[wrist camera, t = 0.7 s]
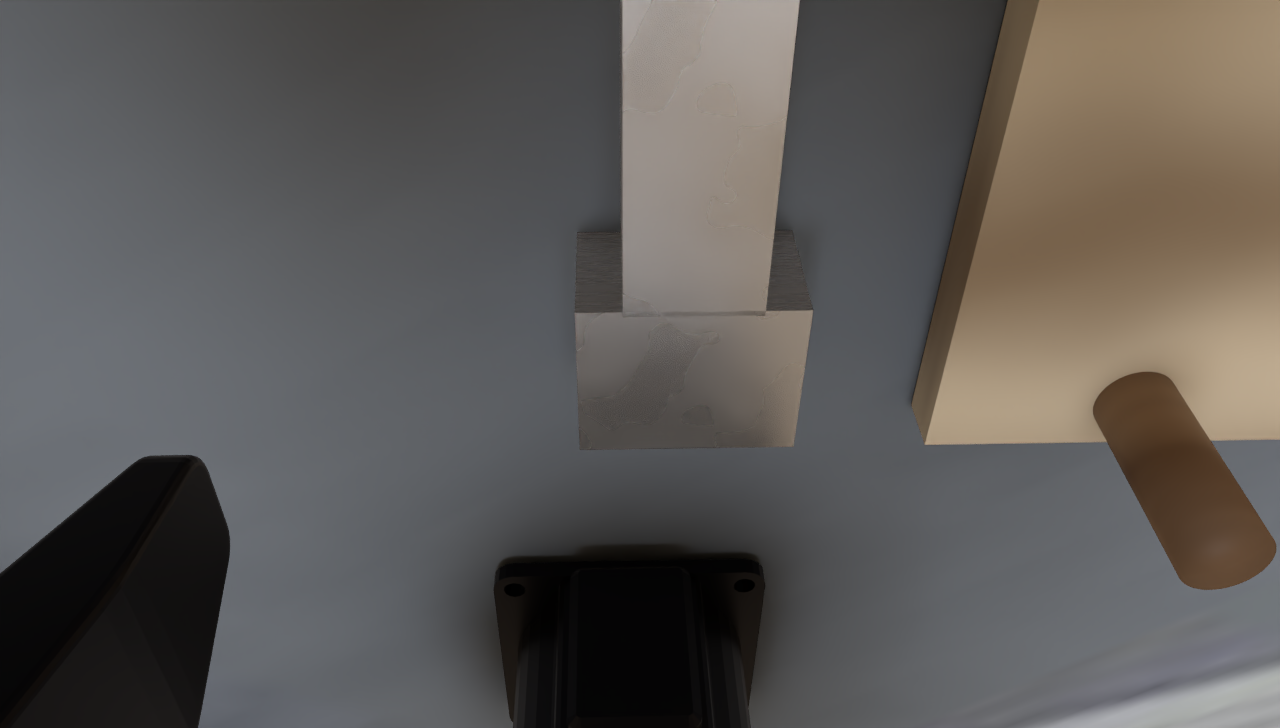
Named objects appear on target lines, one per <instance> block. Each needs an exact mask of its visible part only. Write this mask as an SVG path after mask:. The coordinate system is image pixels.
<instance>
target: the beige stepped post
mask: <svg viewBox="0 0 1280 728" xmlns="http://www.w3.org/2000/svg"><path fill="white" fill-rule="evenodd" d="M799 2H800V0H620V232H577V249H576V285H575V334H576V361H577V387H578V414H579V440H580V450H601V449H671V448H740V447H793V446H794V439H795V432H796V426H797V419H798V412H799V405H800V398H801V391H802V384H803V377H804V371H805V364H806V357H807V350H808V343H809V336H810V329H811V322H812V316H813V308H812V304H811V300H810V296H809V292H808V288H807V284H806V281H805V277H804V273H803V269H802V265H801V261H800V258H799V254H798V250H797V246H796V242H795V238H794V234H793V231H792V230H781V231H775V222H776V213H777V204H778V195H779V185H780V176H781V167H782V158H783V149H784V140H785V130H786V121H787V112H788V103H789V94H790V85H791V75H792V66H793V57H794V48H795V39H796V30H797V21H798V11H799Z"/></svg>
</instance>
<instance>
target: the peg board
mask: <svg viewBox="0 0 1280 728" xmlns="http://www.w3.org/2000/svg"><path fill="white" fill-rule="evenodd" d="M911 406H912V409H913V412H914V415H915V417H916V420H917V423H918V426H919V429H920V432H921V435H922V438H923V441H924V444H925V445H940V444H1007V443H1074V442H1107V443H1108V445H1109V447H1110V448H1111V450H1112V452H1113V454H1114V456H1115V458H1116V460H1117V462H1118V463H1119V465H1120V467H1121V469H1122V471H1123V473H1124V475H1125V477H1126V479H1127V480H1128V482H1129V484H1130V486H1131V488H1132V490H1133V492H1134V494H1135V495H1136V497H1137V499H1138V501H1139V503H1140V505H1141V507H1142V509H1143V510H1144V512H1145V514H1146V516H1147V518H1148V520H1149V522H1150V524H1151V526H1152V527H1153V529H1154V531H1155V533H1156V535H1157V537H1158V539H1159V541H1160V542H1161V544H1162V546H1163V548H1164V550H1165V552H1166V554H1167V556H1168V557H1169V559H1170V561H1171V563H1172V565H1173V567H1174V569H1175V571H1176V573H1177V574H1178V576H1179V578H1180V580H1181V581H1182V582H1183V583H1184V584H1186V585H1188V586H1190V587H1193V588H1196V589H1203V590H1213V589H1222V588H1227V587H1230V586H1234V585H1237V584H1240V583H1242V582H1244V581H1247V580H1249V579H1251V578H1252V577H1254V576H1256V575H1257V574H1259V573H1260V572H1261V571H1263V570H1264V569H1265V568H1266V567H1267V566H1268V565H1269V564H1270V562H1271V561H1272V560H1273V558H1274V556H1275V553H1276V543H1275V540H1274V539H1273V537H1272V536H1271V534H1270V533H1269V531H1268V530H1267V528H1266V526H1265V525H1264V523H1263V522H1262V520H1261V519H1260V517H1259V516H1258V514H1257V512H1256V511H1255V509H1254V508H1253V506H1252V505H1251V503H1250V501H1249V500H1248V498H1247V497H1246V495H1245V494H1244V492H1243V491H1242V489H1241V487H1240V486H1239V484H1238V483H1237V481H1236V480H1235V478H1234V476H1233V475H1232V473H1231V472H1230V470H1229V469H1228V467H1227V466H1226V464H1225V462H1224V461H1223V459H1222V458H1221V456H1220V455H1219V453H1218V452H1217V450H1216V448H1215V447H1214V445H1213V444H1212V442H1211V441H1210V440H1274V439H1280V0H1008V2H1007V6H1006V10H1005V14H1004V18H1003V23H1002V27H1001V31H1000V35H999V39H998V44H997V48H996V52H995V56H994V60H993V65H992V69H991V73H990V77H989V81H988V86H987V90H986V94H985V98H984V102H983V107H982V111H981V115H980V119H979V123H978V128H977V132H976V136H975V140H974V144H973V149H972V153H971V157H970V161H969V165H968V170H967V174H966V178H965V182H964V186H963V191H962V195H961V199H960V203H959V207H958V211H957V216H956V220H955V224H954V228H953V232H952V237H951V241H950V245H949V249H948V253H947V258H946V262H945V266H944V270H943V274H942V279H941V283H940V287H939V291H938V295H937V300H936V304H935V308H934V312H933V316H932V321H931V325H930V329H929V333H928V337H927V342H926V346H925V350H924V354H923V358H922V363H921V367H920V371H919V375H918V379H917V384H916V388H915V392H914V396H913V400H912V405H911Z"/></svg>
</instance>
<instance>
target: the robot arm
mask: <svg viewBox="0 0 1280 728" xmlns="http://www.w3.org/2000/svg"><path fill="white" fill-rule="evenodd" d="M229 556H230V536H229V530H228V526H227V523H226V520H225V517H224V514H223V511H222V509H221V506H220V503H219V500H218V497H217V495H216V492H215V489H214V486H213V483H212V480H211V478H210V475H209V472H208V470H207V468H206V466H205V464H204V463H203V461H202V460H201V459H200V458H198V457H196V456H192V455H161V456H147V457H143V458H141V459H139V460H138V461H136V462H135V463H133V464H132V465H131V466H129V467H128V468H127V469H126V470H125V471H123V472H122V473H121V474H120V475H118V476H117V477H116V478H115V479H114V480H112V481H111V482H110V483H109V484H108V485H106V486H105V487H104V488H103V489H102V490H100V491H99V492H98V493H97V494H96V495H94V496H93V497H92V498H91V499H90V500H88V501H87V502H86V503H85V504H83V505H82V506H81V507H80V508H79V509H77V510H76V511H75V512H74V513H73V514H71V515H70V516H69V517H68V518H67V519H65V520H64V521H63V522H62V523H61V524H59V525H58V526H57V527H56V528H54V529H53V530H52V531H51V532H50V533H48V534H47V535H46V536H45V537H44V538H42V539H41V540H40V541H39V542H38V543H36V544H35V545H34V546H33V547H32V548H30V549H29V550H28V551H27V552H26V553H24V554H23V555H22V556H21V557H19V558H18V559H17V560H16V561H15V562H13V563H12V564H11V565H10V566H9V567H7V568H6V569H5V570H4V571H3V572H1V573H0V728H198V725H199V720H200V715H201V710H202V705H203V699H204V694H205V688H206V683H207V677H208V672H209V666H210V661H211V656H212V650H213V645H214V639H215V634H216V628H217V623H218V617H219V612H220V606H221V601H222V595H223V590H224V584H225V579H226V573H227V568H228V562H229ZM764 590H765V581H764V575H763V569H762V566H761V565H760V564H759V563H758V562H755V561H753V560H747V559H727V560H672V561H617V562H562V563H514V564H507V565H504V566H502V567H500V568H499V569H498V570H497V571H496V574H495V582H494V596H495V604H496V612H497V620H498V628H499V636H500V644H501V652H502V659H503V667H504V675H505V683H506V691H507V699H508V707H509V714H510V718H511V720H512V721H513V728H751V726H750V718H749V710H748V706H749V699H750V691H751V684H752V677H753V670H754V662H755V655H756V648H757V641H758V633H759V626H760V619H761V612H762V604H763V597H764Z"/></svg>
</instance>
